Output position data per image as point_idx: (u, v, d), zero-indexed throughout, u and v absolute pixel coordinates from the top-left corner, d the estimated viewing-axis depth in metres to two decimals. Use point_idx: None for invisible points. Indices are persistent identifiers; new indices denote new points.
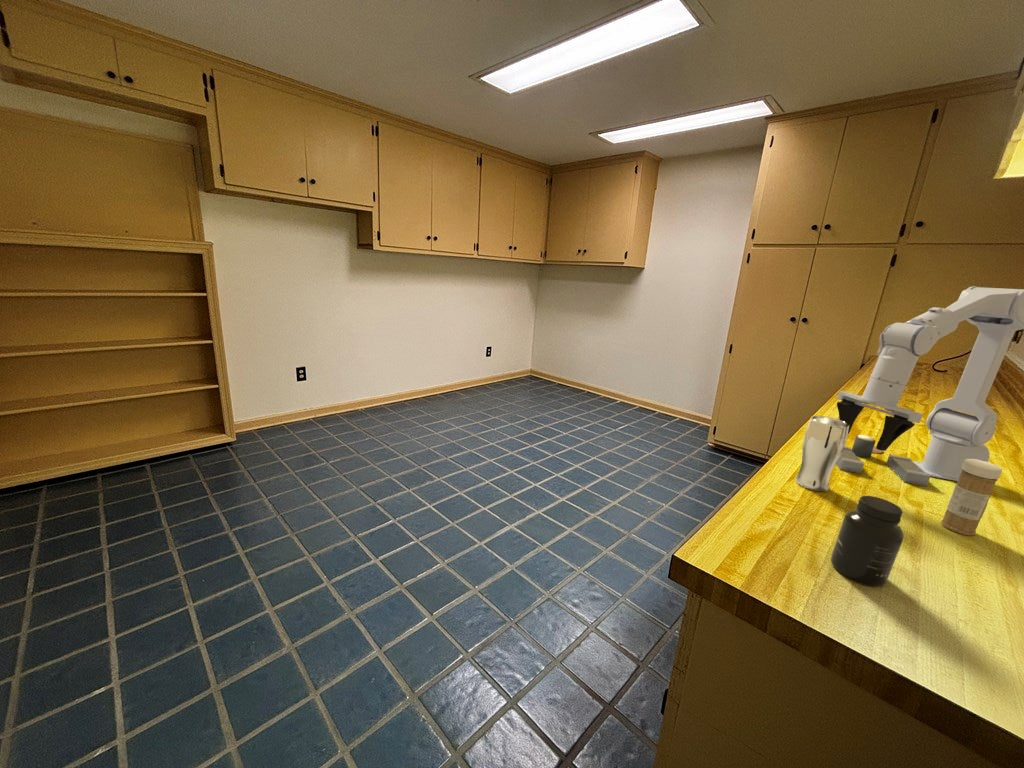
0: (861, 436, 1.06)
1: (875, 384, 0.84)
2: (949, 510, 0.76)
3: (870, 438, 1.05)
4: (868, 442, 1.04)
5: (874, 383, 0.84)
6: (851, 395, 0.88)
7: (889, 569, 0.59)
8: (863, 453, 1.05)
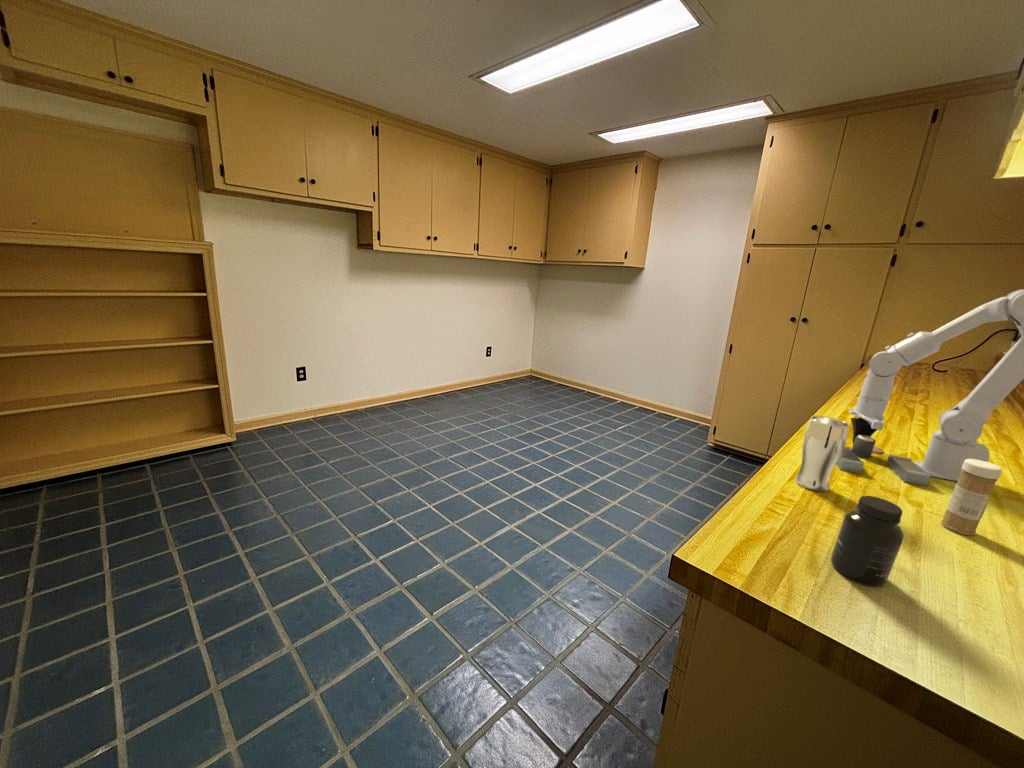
0: (861, 436, 1.06)
1: (858, 399, 1.07)
2: (949, 510, 0.76)
3: (870, 438, 1.05)
4: (868, 443, 1.04)
5: None
6: (854, 408, 1.11)
7: (889, 569, 0.59)
8: (863, 453, 1.05)
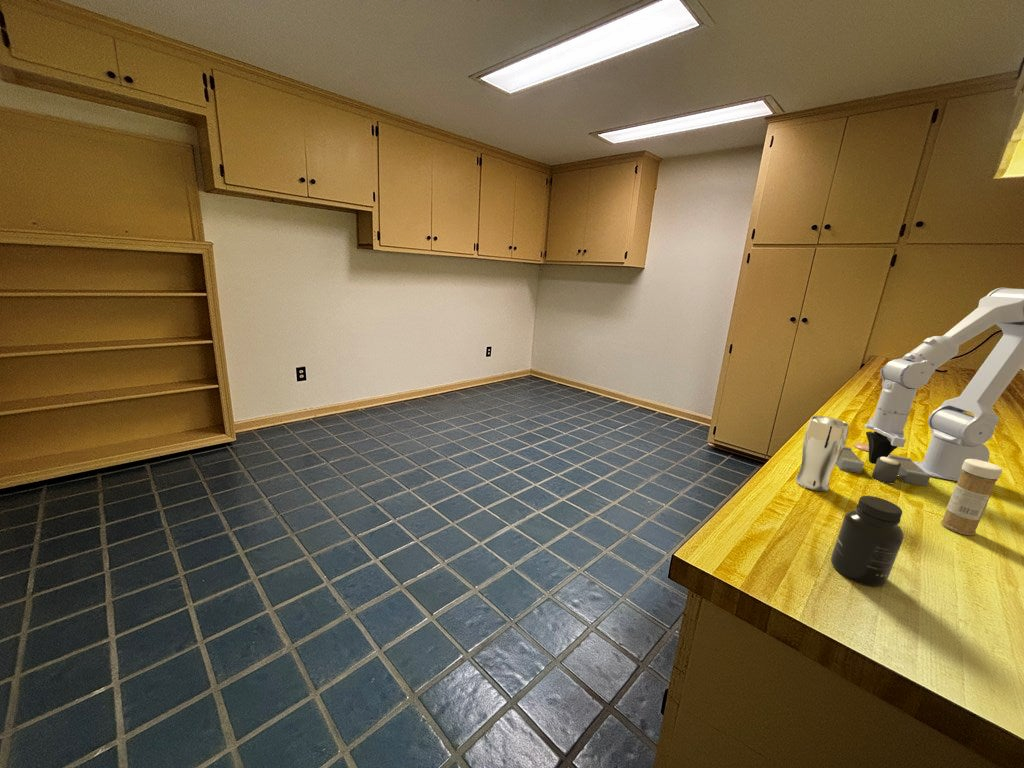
0: (884, 458, 0.93)
1: (875, 412, 0.97)
2: (949, 510, 0.76)
3: (894, 461, 0.92)
4: (892, 466, 0.91)
5: (875, 411, 0.97)
6: (870, 421, 1.01)
7: (889, 569, 0.59)
8: (886, 477, 0.92)
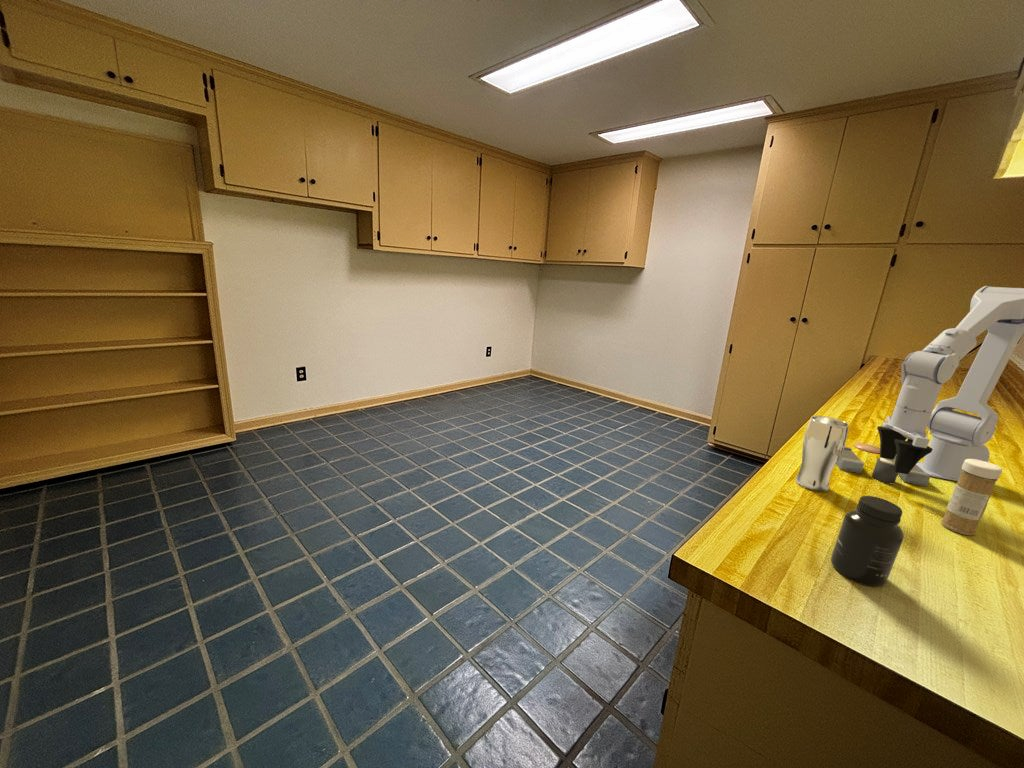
0: (883, 459, 0.93)
1: (894, 410, 0.89)
2: (949, 510, 0.76)
3: (894, 462, 0.92)
4: (892, 466, 0.91)
5: (894, 409, 0.89)
6: (888, 420, 0.93)
7: (889, 569, 0.59)
8: (885, 478, 0.92)
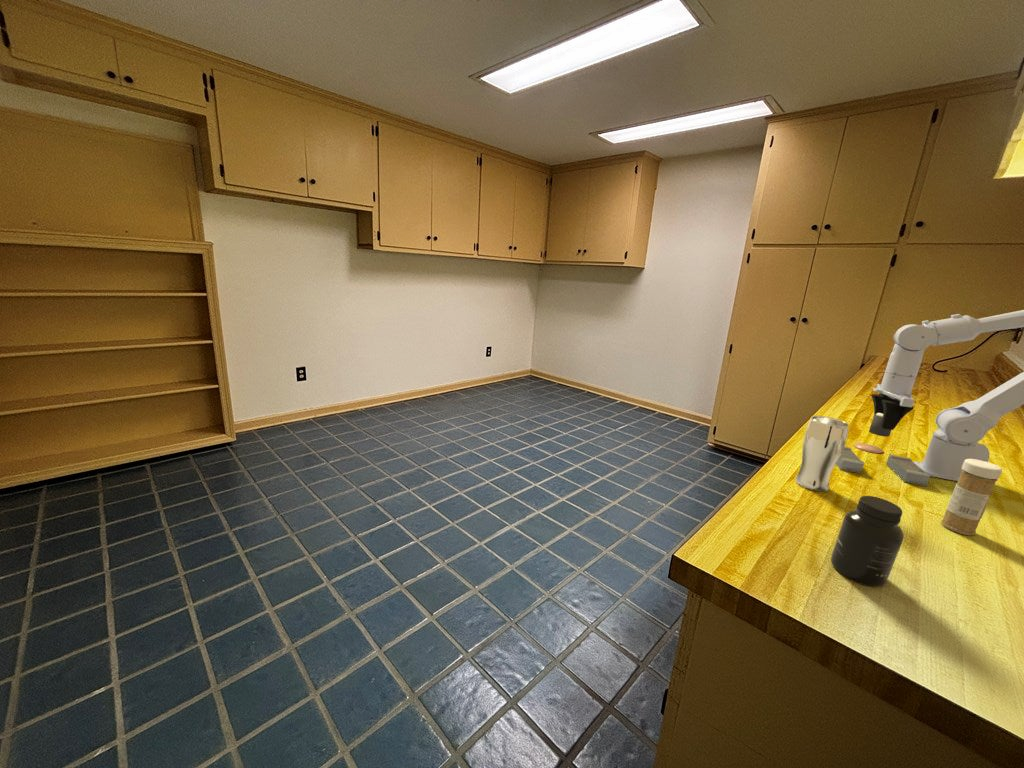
0: (880, 414, 1.03)
1: (884, 376, 1.01)
2: (949, 510, 0.76)
3: None
4: None
5: (884, 375, 1.01)
6: (878, 386, 1.05)
7: (889, 569, 0.59)
8: (882, 431, 1.02)
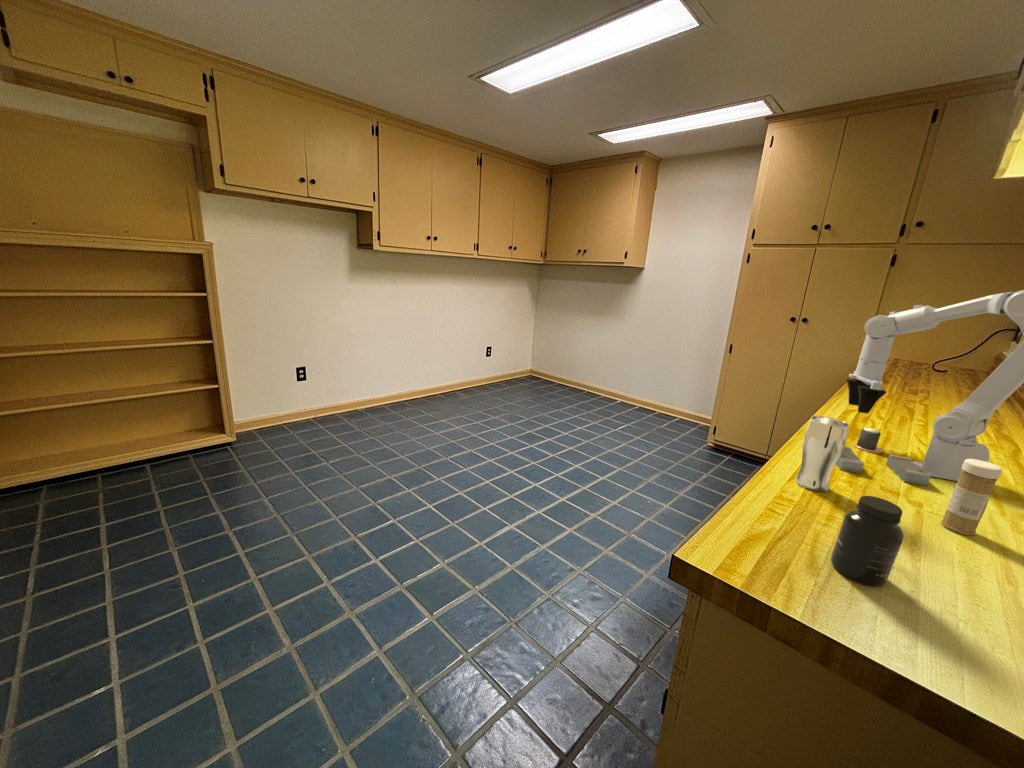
0: (867, 429, 1.11)
1: (858, 363, 1.11)
2: (949, 510, 0.76)
3: (875, 430, 1.10)
4: (874, 434, 1.09)
5: (858, 362, 1.11)
6: None
7: (889, 569, 0.59)
8: (869, 444, 1.10)
